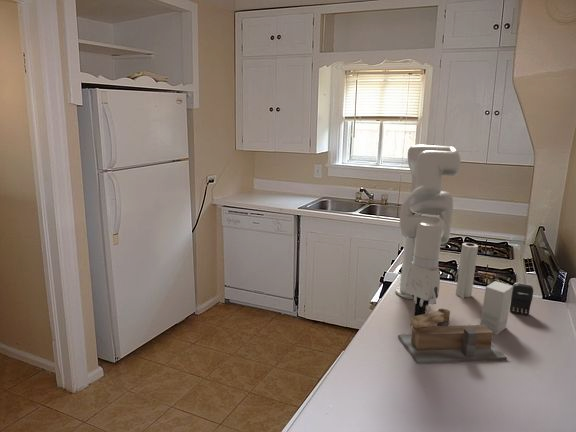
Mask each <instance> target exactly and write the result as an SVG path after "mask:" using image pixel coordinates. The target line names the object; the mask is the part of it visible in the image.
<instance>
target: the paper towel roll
mask: <svg viewBox="0 0 576 432" xmlns="http://www.w3.org/2000/svg"><path fill="white" fill-rule="evenodd" d="M478 248H479V245H478V244H476V243H474V242H473V243H472V242H463V243H462V244H461V252H460V258H459V259H460V260H459V265H458V266H459V267H458V274H457V282H456V283H457V284H456V290H455V294H456V295H457V296H458V297H461V298H462V299H464V298H470V297H472V295H473V288H474V287H473V286H474V280H475V273H476V272H475V271H476V266H477V257H478V251H479V249H478Z"/></svg>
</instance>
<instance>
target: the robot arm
mask: <svg viewBox="0 0 576 432" xmlns="http://www.w3.org/2000/svg"><path fill="white" fill-rule="evenodd" d="M407 150H408V151H407V163H408V167H409V170H410V174H411V186H410V192H409V194H408V195H406V197H405V198H404V200H403V202H402V204H401V207H400V211H399V214H400V215H399V224H398V225H399V226H398V227H399V233H400V235H401V236H402V237H403V252H402V253H403V254H402V262H401V265H402V266H401V274H400V279H399V281H400V284H399V286H397V287H396V288H395V293H396V295H398V296H399V297H402V298H405V299H408V300H413V303H414V304H415V305H414V314H413V315H414V316H418V315H422V314H426V313H427V312H426V310H427V306H429V305H436V304H437V299H438V297H439V292H440V285H441V284H440V283H441V282H440V281H441V280H440V269H439V262H440V261H439V260H440V253H441V244H446V243H448V242H449V240H450V237H451V229H452V220H453V218H452V217H453V208H454V199H453V195H452V194H451V193H450V192H448V191H445V190H444V191H443V190H442V187H443V185H442V183H443V182H442V180H443V179H442V177H443V176H447V177H456V176H457V175H458V174H459V173H460V170H461V165H462V164H461V155H460V153H459V150H457V148H456V147H454V146H450V145H449V146H448V145H432V144H431V145H430V144H415V145H412V146H410V147H409V148H408V149H407ZM410 211H411V212H412V213H414V214H410ZM416 214H417V215H416ZM426 215H427V216H426ZM414 316H413V317H414Z"/></svg>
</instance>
